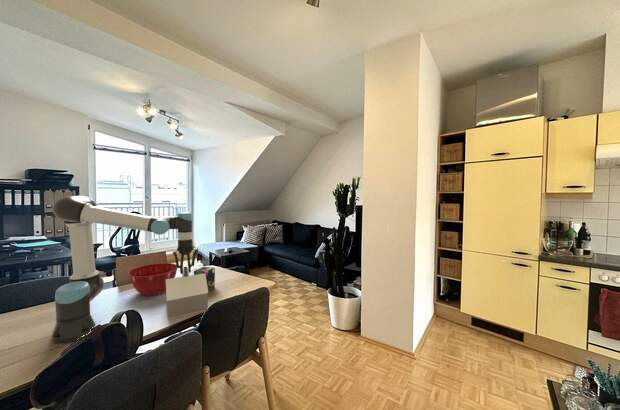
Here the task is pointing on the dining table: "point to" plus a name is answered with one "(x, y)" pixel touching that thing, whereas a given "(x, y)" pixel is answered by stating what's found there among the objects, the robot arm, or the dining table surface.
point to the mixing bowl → (152, 278)
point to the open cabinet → (186, 305)
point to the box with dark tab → (186, 286)
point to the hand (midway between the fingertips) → (185, 278)
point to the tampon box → (207, 276)
